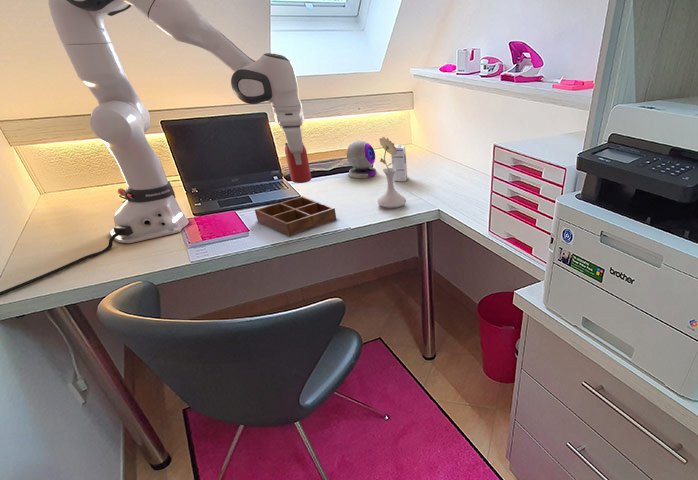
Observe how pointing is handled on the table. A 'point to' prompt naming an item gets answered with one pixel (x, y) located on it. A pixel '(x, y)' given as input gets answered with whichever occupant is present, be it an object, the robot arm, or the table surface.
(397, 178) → the syrup box
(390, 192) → the flower in vase
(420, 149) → the table surface
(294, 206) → the tray
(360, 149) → the webcam
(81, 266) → the table surface
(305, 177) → the beer can
